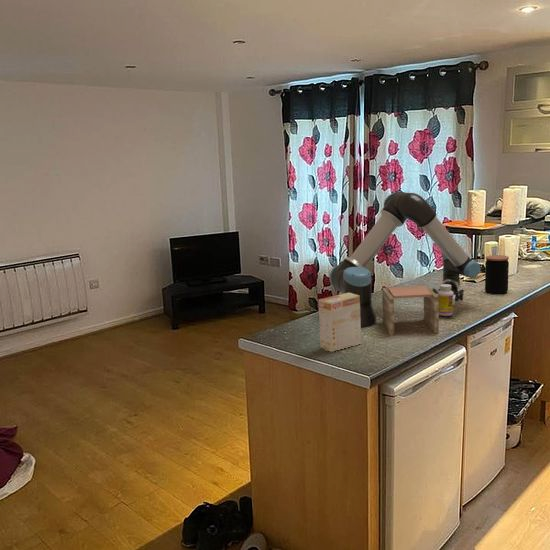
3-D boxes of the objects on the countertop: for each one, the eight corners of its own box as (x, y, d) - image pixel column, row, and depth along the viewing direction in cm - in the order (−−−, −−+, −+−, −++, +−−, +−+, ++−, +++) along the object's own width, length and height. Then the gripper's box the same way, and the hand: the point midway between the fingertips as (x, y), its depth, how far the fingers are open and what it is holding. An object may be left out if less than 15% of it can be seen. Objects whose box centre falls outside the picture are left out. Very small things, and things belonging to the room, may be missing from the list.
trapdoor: (393, 298, 220) (393, 296, 220) (387, 289, 235) (387, 287, 235) (431, 296, 219) (431, 294, 219) (423, 287, 234) (423, 285, 234)
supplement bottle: (449, 316, 236) (449, 287, 234) (434, 314, 241) (434, 285, 238) (455, 313, 241) (456, 284, 239) (441, 311, 246) (441, 282, 243)
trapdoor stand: (390, 335, 220) (389, 299, 217) (382, 321, 239) (382, 287, 236) (438, 333, 219) (438, 296, 216) (427, 319, 238) (427, 285, 235)
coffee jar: (512, 292, 274) (513, 256, 271) (499, 296, 269) (500, 259, 265) (493, 288, 283) (494, 254, 279) (480, 292, 277) (481, 257, 274)
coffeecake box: (350, 340, 218) (348, 292, 214) (362, 344, 212) (360, 295, 208) (319, 348, 210) (317, 299, 206) (331, 353, 204) (329, 302, 200)
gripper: (471, 297, 253) (468, 310, 232) (427, 295, 260) (420, 308, 239) (471, 281, 251) (468, 293, 231) (427, 280, 259) (420, 291, 238)
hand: (444, 301), depth 235 cm, fingers closed on supplement bottle, 7 cm apart
